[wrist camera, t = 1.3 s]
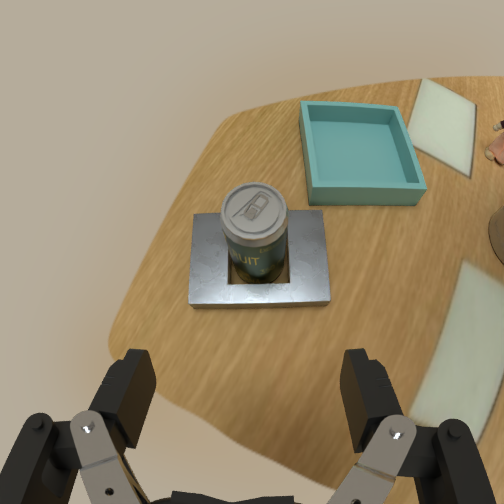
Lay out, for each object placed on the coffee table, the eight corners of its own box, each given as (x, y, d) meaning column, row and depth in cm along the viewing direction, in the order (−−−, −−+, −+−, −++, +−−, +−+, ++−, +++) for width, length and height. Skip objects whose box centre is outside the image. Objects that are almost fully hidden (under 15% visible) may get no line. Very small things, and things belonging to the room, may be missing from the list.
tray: (390, 125, 42) (397, 106, 38) (415, 205, 37) (427, 189, 33) (298, 121, 43) (300, 100, 39) (309, 205, 37) (312, 187, 34)
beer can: (253, 231, 37) (245, 168, 25) (293, 256, 35) (302, 200, 24) (224, 269, 35) (203, 218, 24) (265, 296, 34) (263, 255, 23)
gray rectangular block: (319, 220, 37) (322, 209, 34) (326, 305, 33) (330, 300, 31) (198, 224, 37) (193, 213, 35) (193, 308, 34) (188, 303, 31)
